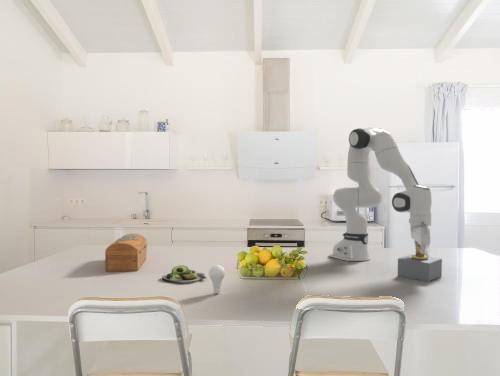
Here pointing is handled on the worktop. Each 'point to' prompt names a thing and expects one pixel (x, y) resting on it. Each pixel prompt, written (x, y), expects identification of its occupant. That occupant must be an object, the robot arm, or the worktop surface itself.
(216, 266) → the lightbulb
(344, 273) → the worktop surface
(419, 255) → the brass knob plunger
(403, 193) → the robot arm
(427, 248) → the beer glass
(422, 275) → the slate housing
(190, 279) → the salad plate
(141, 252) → the wooden box
